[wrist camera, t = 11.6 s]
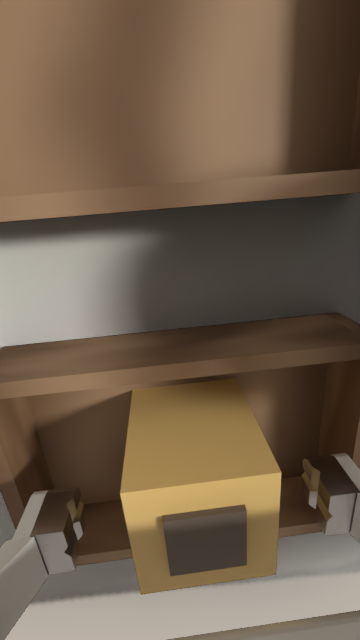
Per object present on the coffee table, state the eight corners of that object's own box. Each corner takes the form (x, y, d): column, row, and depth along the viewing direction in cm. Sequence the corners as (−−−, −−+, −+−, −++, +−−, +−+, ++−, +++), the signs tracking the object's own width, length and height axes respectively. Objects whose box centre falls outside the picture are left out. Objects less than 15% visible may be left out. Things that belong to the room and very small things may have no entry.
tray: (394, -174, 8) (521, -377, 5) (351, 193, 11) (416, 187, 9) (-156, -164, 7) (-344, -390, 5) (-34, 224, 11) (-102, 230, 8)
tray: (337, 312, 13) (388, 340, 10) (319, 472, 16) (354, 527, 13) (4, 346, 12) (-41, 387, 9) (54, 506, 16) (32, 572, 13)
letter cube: (235, 378, 13) (284, 478, 8) (237, 457, 15) (278, 581, 10) (127, 390, 13) (111, 501, 8) (140, 470, 14) (134, 603, 10)
